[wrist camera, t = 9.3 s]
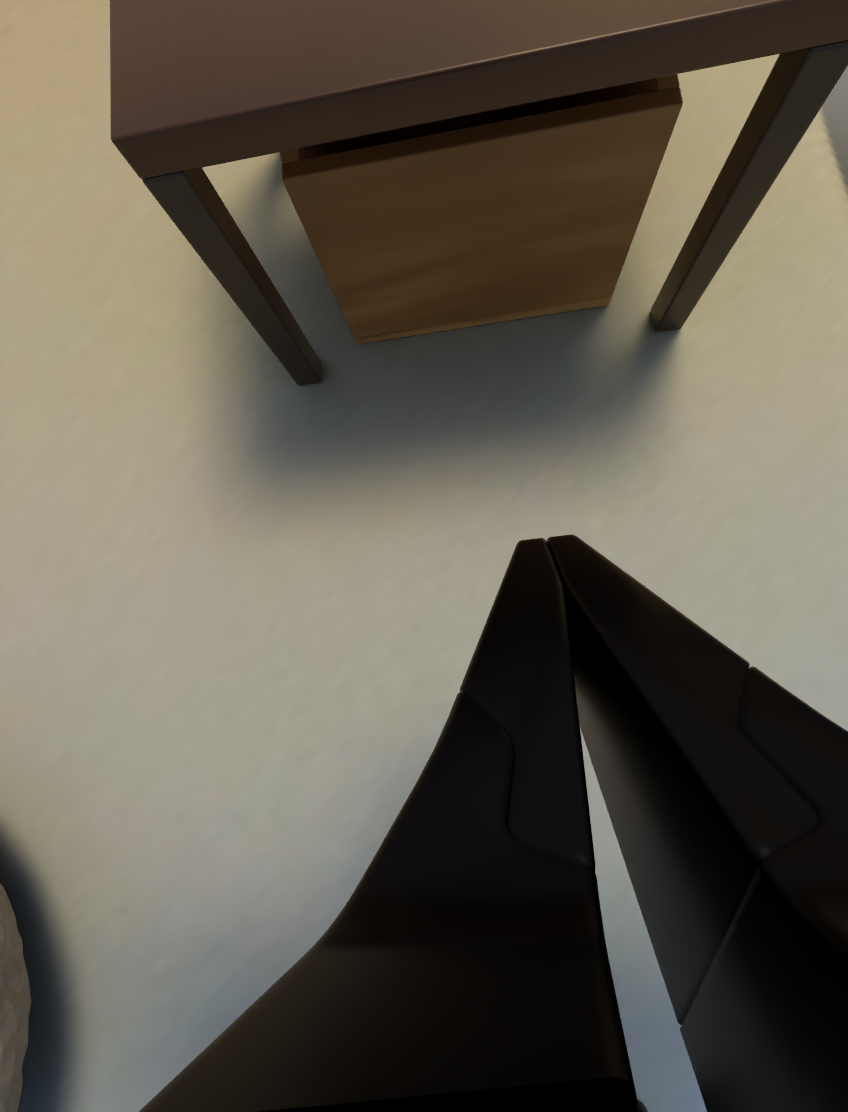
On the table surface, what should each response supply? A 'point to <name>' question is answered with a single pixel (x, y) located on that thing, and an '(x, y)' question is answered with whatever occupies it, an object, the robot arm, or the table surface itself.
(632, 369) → the table surface
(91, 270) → the table surface
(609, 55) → the desk shelf
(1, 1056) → the grey rounded stone
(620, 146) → the wooden box
